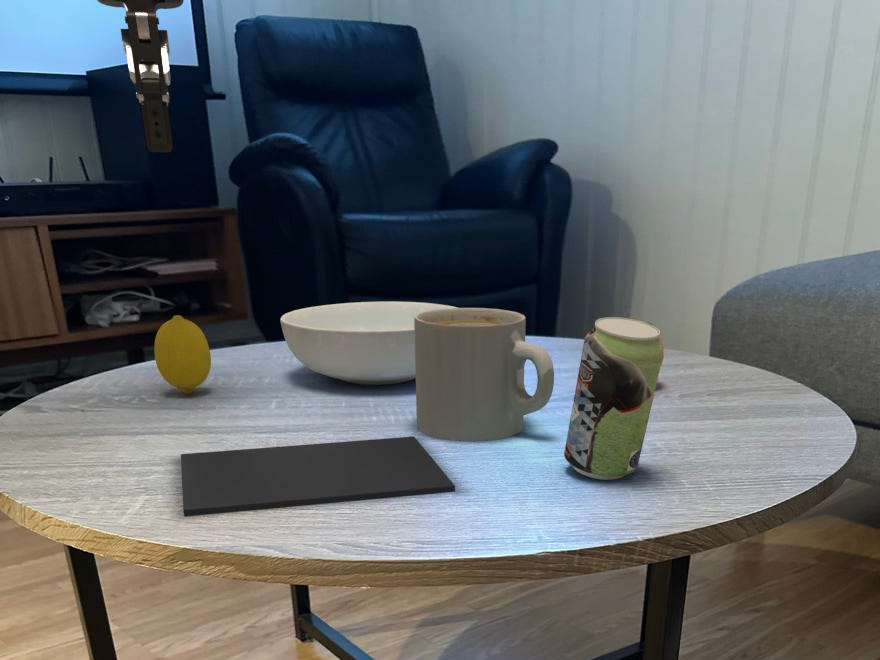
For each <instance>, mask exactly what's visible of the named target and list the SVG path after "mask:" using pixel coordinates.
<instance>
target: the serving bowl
mask: <svg viewBox="0 0 880 660" xmlns="http://www.w3.org/2000/svg"><path fill="white" fill-rule="evenodd" d="M448 308H458V307H456V306H452V305H448V304H441V303H440V304H439V303H431V302H417V301H361V302H359V301H358V302H344V303H334V304H324V305H317V306H310V307H304V308H300V309H299V308H298V309H295V310H292V311H289V312H286V313H284V314H283V315H281V317H280V320H279V321H280V326H281V330H282V334H283V337H284V340H285V343H286V345H287V347H288V349H289V350H290V352H291V353H292V355H293V356H294V357H295V358H296V359H297V360H298V361H299V362H300V363H301V364H302V365H303V366H305V367H306V368H307V369H309V370H311V371H313V372H316V373H317V374H320V375H322V376H326V377H330V378H334V379H338V380H340V381H343V382H345V383H346V382H347V383H351V384H356V385H373V386H374V385H378V386H379V385H381V386H382V385H394V384H401V383H406V382H409V381H413V380H414V379H415V380H416V369H415V330H414V317H415V316H416V315H417V314H419V313H421V312H425V311H430V310H438V309H448Z"/></svg>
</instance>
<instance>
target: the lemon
mask: <svg viewBox="0 0 880 660" xmlns="http://www.w3.org/2000/svg"><path fill="white" fill-rule="evenodd" d="M153 350H154V361H155V364H156V366H157V367H156V368H157V369H158V372H159V374H160V375H161V377H162V378H163V379H164V380H165V382H167V383H168V384H169V385H170V386H172V387H174V388H177V389H179V390H181V392H182V393H184V394H185V395H191V394H192V393H193V392H194V391H195V389H196V388H197V387H199V386H202V384H203V383H204V382H205V381H206V380H207V378H208V376H209V375H210V371H211V366H212V356H211V350H210V346H209V343H208V340H207V337H206V335H205V334H204V332H203V330H202V329H201V328H200V327H199V326H198V325H197V324H196V323H194V322H192V321H191V320H188V319H187V318H186V319H185V318H184V317H183V316H182V315H180V314H179V315H178V314H176V315H173V317H172V318H171V319H170V320H167V321H166V322H164V323H163V324H162V325H161V326H160V327H159V329H158V330H157V333H156V335H155V340H154V349H153Z"/></svg>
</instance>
